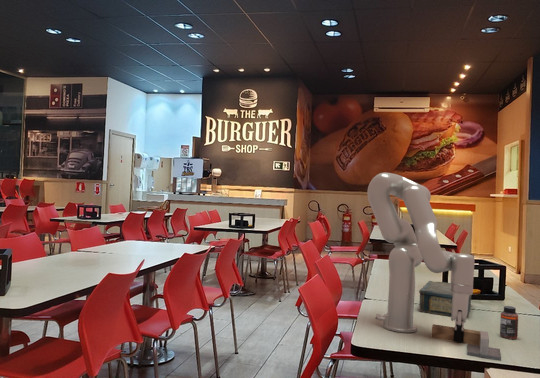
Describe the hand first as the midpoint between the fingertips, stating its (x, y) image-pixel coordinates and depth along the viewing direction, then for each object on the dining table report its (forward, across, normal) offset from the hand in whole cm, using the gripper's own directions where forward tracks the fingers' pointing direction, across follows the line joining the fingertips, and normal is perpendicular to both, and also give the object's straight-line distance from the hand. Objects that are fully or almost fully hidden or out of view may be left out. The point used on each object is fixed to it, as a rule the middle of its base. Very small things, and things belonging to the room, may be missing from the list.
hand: (458, 339), depth 174 cm
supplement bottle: (+1, -16, +17) cm, 23 cm away
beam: (0, 0, 0) cm, 0 cm away
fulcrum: (0, +11, +8) cm, 14 cm away
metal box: (+1, -53, -7) cm, 53 cm away
